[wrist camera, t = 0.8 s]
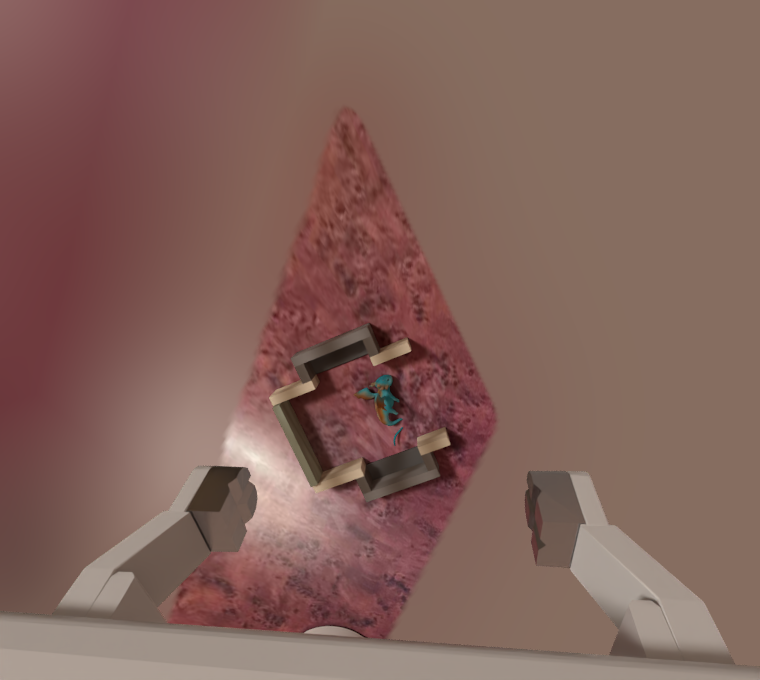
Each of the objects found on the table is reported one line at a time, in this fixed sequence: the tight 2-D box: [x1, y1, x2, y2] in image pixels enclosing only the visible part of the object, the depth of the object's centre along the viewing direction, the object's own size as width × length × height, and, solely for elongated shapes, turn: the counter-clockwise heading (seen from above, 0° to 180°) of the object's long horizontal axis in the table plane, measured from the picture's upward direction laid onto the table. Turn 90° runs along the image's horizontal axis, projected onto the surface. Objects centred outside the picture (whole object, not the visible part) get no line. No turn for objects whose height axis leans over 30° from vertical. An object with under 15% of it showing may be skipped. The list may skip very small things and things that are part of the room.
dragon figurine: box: [354, 375, 403, 445], centre depth 56 cm, size 7×7×8 cm
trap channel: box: [269, 323, 450, 502], centre depth 56 cm, size 19×22×4 cm
